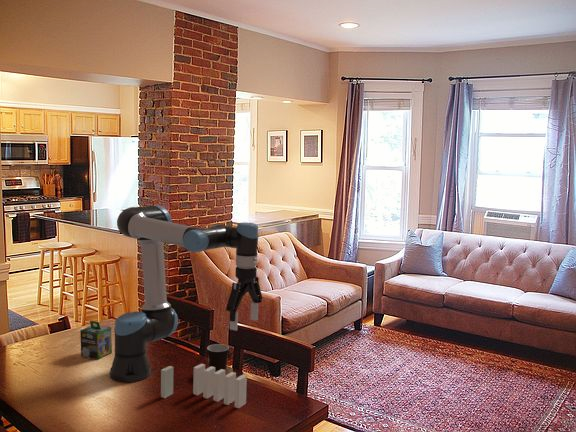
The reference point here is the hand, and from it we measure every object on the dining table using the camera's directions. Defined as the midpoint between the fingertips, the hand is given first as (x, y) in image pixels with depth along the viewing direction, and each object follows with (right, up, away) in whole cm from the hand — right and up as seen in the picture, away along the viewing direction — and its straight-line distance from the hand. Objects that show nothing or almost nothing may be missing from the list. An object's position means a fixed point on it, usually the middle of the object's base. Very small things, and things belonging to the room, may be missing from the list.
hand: (244, 324), depth 190 cm
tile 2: (-16, -25, +2) cm, 30 cm away
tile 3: (-13, -25, -1) cm, 28 cm away
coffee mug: (-12, -23, +22) cm, 34 cm away
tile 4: (-9, -26, -3) cm, 27 cm away
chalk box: (-65, -20, +34) cm, 77 cm away
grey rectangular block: (-1, -26, -7) cm, 27 cm away
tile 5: (-5, -26, -5) cm, 27 cm away
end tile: (-27, -25, -1) cm, 37 cm away
